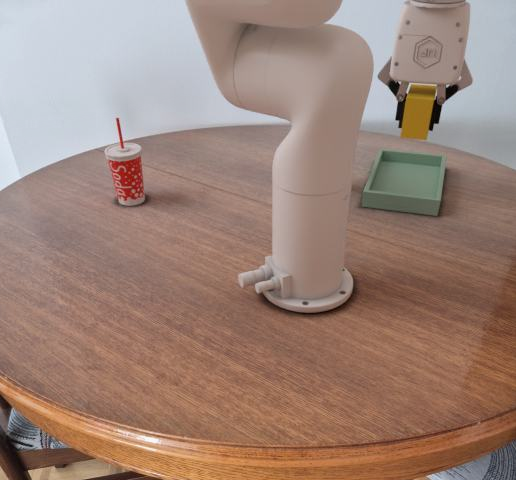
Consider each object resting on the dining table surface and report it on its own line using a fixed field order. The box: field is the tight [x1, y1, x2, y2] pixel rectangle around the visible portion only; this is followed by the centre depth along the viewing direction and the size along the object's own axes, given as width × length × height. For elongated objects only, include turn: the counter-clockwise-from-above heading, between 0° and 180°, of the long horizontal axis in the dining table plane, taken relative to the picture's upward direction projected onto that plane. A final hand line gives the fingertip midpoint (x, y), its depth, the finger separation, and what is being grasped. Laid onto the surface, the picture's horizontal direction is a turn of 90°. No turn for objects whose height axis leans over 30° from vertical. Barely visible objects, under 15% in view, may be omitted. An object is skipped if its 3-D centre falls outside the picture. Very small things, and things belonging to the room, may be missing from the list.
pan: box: [361, 148, 448, 217], centre depth 97 cm, size 20×13×3 cm, turn 163°
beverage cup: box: [104, 117, 146, 207], centre depth 91 cm, size 6×6×14 cm
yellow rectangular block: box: [400, 83, 437, 141], centre depth 85 cm, size 7×4×6 cm, turn 162°
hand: (416, 125), depth 86 cm, fingers closed on yellow rectangular block, 4 cm apart
